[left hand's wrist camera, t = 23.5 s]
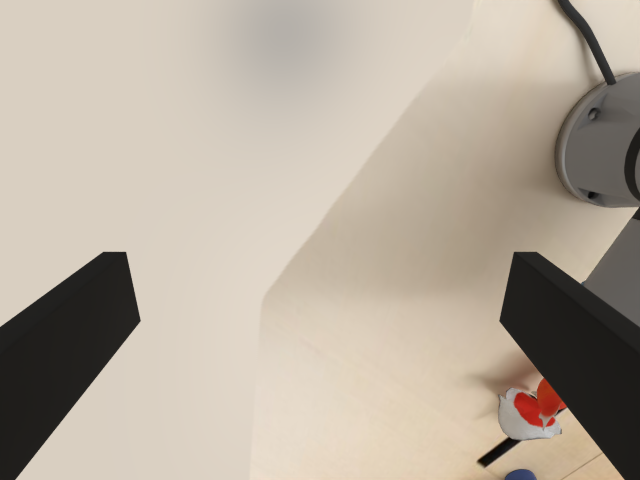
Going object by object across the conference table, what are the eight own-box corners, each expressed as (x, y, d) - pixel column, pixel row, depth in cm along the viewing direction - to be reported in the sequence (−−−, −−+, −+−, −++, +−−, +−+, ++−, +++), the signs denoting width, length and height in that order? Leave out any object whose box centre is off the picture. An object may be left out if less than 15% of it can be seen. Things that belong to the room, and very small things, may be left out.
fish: (620, 401, 53) (628, 458, 45) (516, 418, 63) (509, 467, 55) (575, 340, 53) (575, 387, 46) (479, 366, 63) (466, 408, 56)
